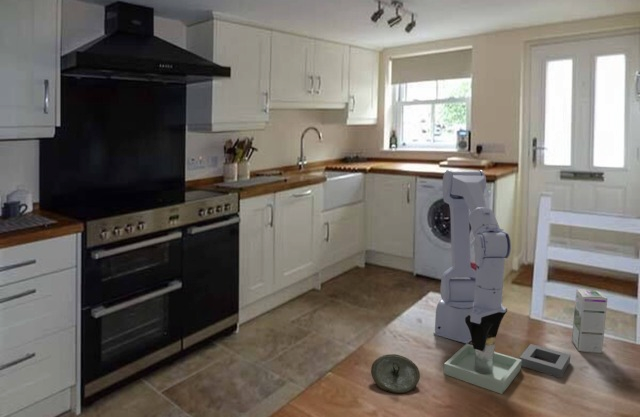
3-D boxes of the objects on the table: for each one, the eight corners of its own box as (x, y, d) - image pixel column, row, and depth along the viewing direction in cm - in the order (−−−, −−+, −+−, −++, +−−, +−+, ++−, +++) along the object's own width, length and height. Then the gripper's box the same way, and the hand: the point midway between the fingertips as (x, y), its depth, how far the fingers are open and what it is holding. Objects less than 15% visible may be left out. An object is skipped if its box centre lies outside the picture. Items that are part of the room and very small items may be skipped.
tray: (443, 373, 108) (444, 363, 108) (466, 353, 118) (466, 343, 118) (502, 394, 100) (503, 383, 100) (520, 369, 110) (521, 359, 110)
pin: (471, 371, 109) (474, 337, 107) (477, 363, 112) (479, 331, 110) (489, 376, 106) (492, 342, 105) (494, 369, 110) (497, 336, 108)
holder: (518, 365, 112) (519, 357, 112) (529, 351, 119) (530, 343, 119) (560, 377, 107) (561, 369, 107) (569, 362, 114) (570, 354, 114)
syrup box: (603, 353, 119) (609, 297, 116) (577, 351, 120) (583, 295, 117) (594, 343, 124) (601, 290, 122) (570, 341, 125) (575, 288, 123)
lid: (415, 370, 110) (415, 350, 109) (423, 394, 100) (424, 372, 99) (368, 370, 110) (369, 349, 109) (373, 394, 100) (373, 371, 99)
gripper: (495, 298, 98) (491, 360, 100) (517, 281, 109) (512, 337, 111) (462, 291, 102) (458, 350, 104) (486, 274, 113) (482, 328, 116)
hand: (484, 343), depth 108 cm, fingers open, 7 cm apart
